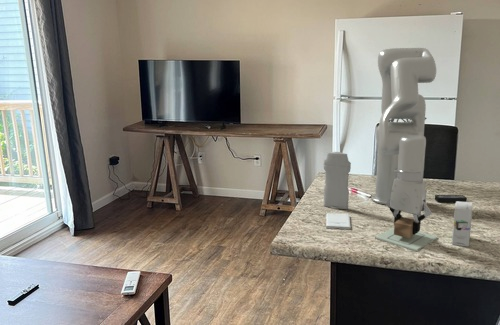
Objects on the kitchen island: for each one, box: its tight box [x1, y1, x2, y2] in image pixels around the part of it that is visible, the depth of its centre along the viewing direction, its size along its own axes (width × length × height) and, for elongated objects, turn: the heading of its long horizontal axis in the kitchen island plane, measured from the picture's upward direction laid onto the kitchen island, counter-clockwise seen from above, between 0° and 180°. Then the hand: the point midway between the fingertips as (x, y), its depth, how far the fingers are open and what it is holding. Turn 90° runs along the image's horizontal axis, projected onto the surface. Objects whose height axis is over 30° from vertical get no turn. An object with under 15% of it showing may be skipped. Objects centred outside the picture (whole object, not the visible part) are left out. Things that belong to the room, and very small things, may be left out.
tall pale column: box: [323, 151, 352, 210], centre depth 171 cm, size 11×4×22 cm, turn 61°
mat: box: [374, 226, 438, 252], centre depth 143 cm, size 14×14×1 cm
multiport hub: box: [434, 194, 468, 204], centre depth 178 cm, size 4×11×2 cm, turn 86°
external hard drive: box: [325, 212, 351, 230], centre depth 158 cm, size 2×8×12 cm
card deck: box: [393, 214, 415, 238], centre depth 142 cm, size 5×8×4 cm, turn 141°
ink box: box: [451, 201, 473, 247], centre depth 139 cm, size 8×5×12 cm, turn 154°
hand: (406, 229), depth 143 cm, fingers closed on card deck, 5 cm apart
